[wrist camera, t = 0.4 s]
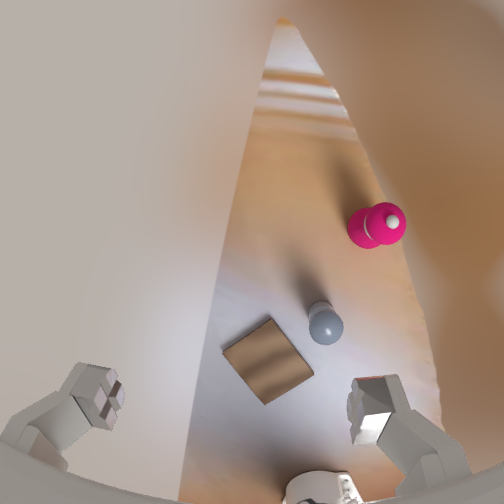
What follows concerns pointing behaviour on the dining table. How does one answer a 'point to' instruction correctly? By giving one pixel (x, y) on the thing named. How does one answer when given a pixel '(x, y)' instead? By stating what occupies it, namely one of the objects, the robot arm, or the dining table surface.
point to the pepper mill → (377, 225)
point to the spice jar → (324, 323)
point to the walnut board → (268, 362)
